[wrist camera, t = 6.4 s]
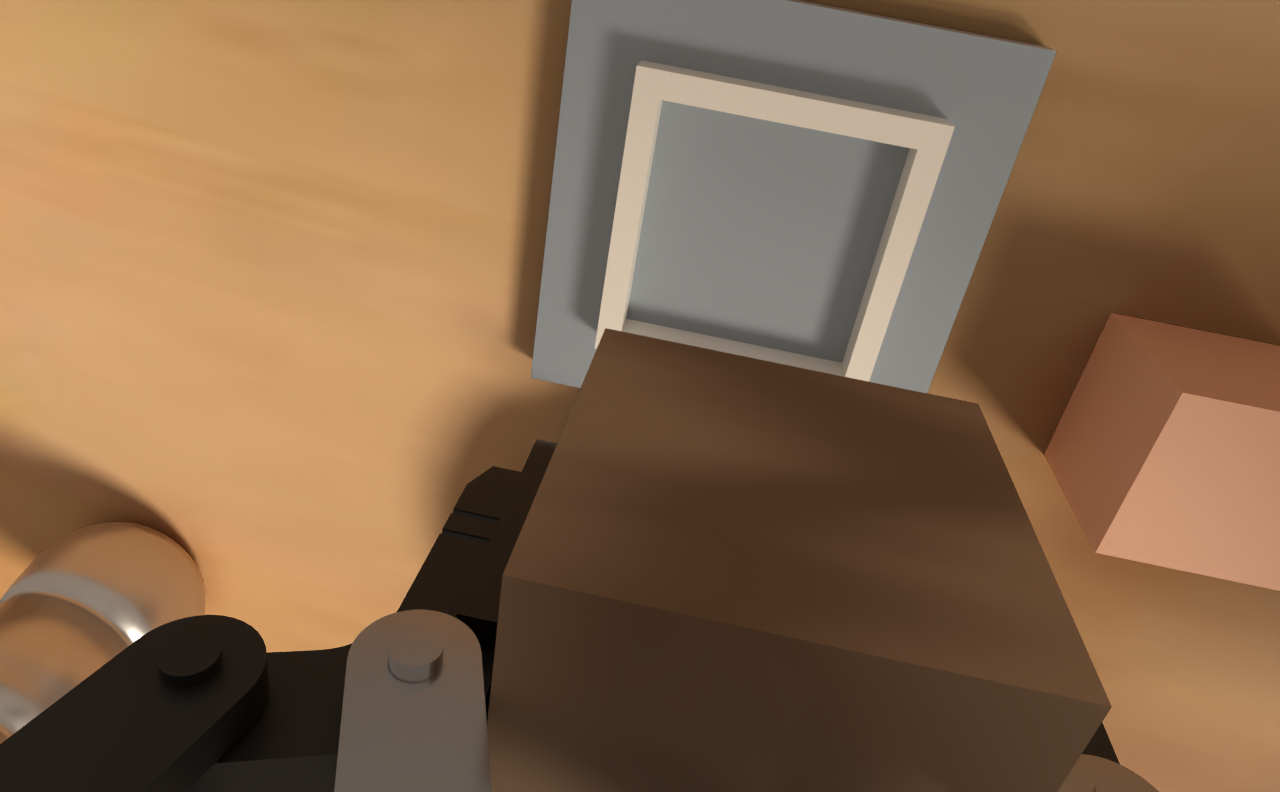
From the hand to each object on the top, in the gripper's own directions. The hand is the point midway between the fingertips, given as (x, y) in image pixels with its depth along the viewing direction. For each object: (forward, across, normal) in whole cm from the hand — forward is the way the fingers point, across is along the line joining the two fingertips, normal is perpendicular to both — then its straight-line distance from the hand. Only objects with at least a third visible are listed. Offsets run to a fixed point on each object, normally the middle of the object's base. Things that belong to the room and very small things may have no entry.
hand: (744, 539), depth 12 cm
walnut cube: (0, 0, 0) cm, 0 cm away
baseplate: (+15, 0, 0) cm, 15 cm away
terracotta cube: (+15, -13, +3) cm, 20 cm away
